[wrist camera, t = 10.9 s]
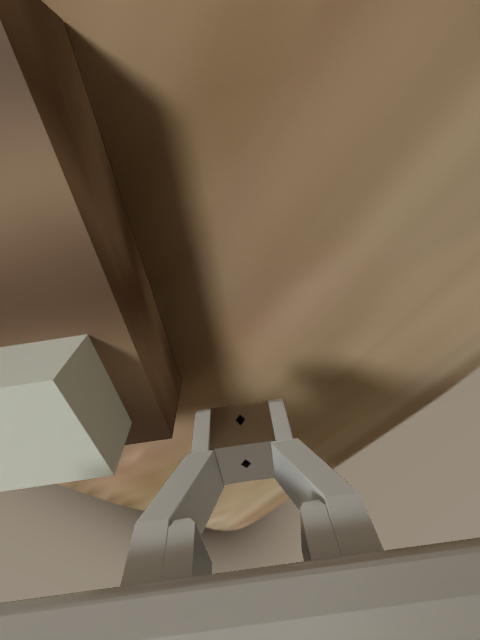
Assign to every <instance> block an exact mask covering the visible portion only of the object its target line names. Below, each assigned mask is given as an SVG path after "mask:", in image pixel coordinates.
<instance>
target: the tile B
mask: <svg viewBox="0 0 480 640" xmlns="http://www.w3.org/2000/svg"><path fill="white" fill-rule="evenodd" d="M131 424H132V421H131V419H130V417H129V415H128V413H127V411H126V409H125V407H124V406H123V404H122V402H121V400H120V398H119V396H118V394H117V392H116V390H115V388H114V386H113V384H112V382H111V380H110V378H109V376H108V374H107V372H106V370H105V368H104V366H103V364H102V362H101V360H100V358H99V356H98V354H97V352H96V350H95V348H94V346H93V344H92V342H91V340H90V338H89V336H88V334H86V335H79V336H72V337H66V338H59V339H52V340H46V341H39V342H33V343H26V344H19V345H13V346H6V347H0V492H1V491H8V490H14V489H21V488H29V487H36V486H43V485H50V484H57V483H64V482H71V481H78V480H85V479H92V478H99V477H106V476H113V475H115V472H116V469H117V466H118V463H119V460H120V457H121V454H122V451H123V448H124V445H125V442H126V439H127V436H128V433H129V430H130V427H131Z"/></svg>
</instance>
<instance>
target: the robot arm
mask: <svg viewBox="0 0 480 640" xmlns="http://www.w3.org/2000/svg"><path fill="white" fill-rule="evenodd" d="M269 478H275V479H276V481H277V482H278V483H279V485H280V486H281V487H282V488H283V490H284V491H285V492H286V494H287V495H288V496H289V497H290V499H291V500H292V501H293V502H294V504H295V505H296V506H297V508H298V509H299V510H300V519H301V545H302V554H303V559H304V562H296V563H290V564H282V565H275V566H267V567H260V568H252V569H245V570H238V571H230V572H223V573H216V574H212V562H211V560H210V557H209V555H208V552H207V550H206V547H205V545H204V543H203V540H202V538H201V534H202V532H203V530H204V528H205V526H206V524H207V522H208V520H209V517H210V515H211V513H212V511H213V509H214V507H215V505H216V503H217V501H218V499H219V496H220V494H221V492H222V490H223V488H224V485H227V484H232V483H238V482H244V481H249V480H250V481H251V480H260V479H269ZM0 640H480V538H474V539H466V540H458V541H451V542H444V543H436V544H429V545H421V546H415V547H407V548H399V549H392V550H386V551H384V550H383V548H382V545H381V542H380V540H379V538H378V535H377V533H376V531H375V528H374V526H373V524H372V521H371V519H370V517H369V514H368V512H367V509H366V507H365V505H364V502H363V500H362V498H361V495H360V493H359V492H358V491H357V490H355V489H354V488H353V487H352V486H351V485H350V484H349V483H348V482H347V481H345V480H344V479H343V478H342V477H341V476H340V475H339V474H337V472H335V471H334V470H333V469H332V468H331V467H330V466H329V465H328V464H326V463H325V462H324V461H323V460H322V459H321V458H320V457H319V456H318V455H316V454H315V453H314V452H313V451H312V450H311V449H310V448H309V447H307V446H306V445H305V444H304V443H303V442H302V441H301V440H300V439H299V438H293V435H292V431H291V427H290V424H289V420H288V416H287V412H286V409H285V405H284V401H283V399H282V398H279V399H273V400H268V401H267V400H266V401H259V402H253V403H246V404H240V405H234V406H226V407H217V408H211V409H202V410H197V411H196V414H195V423H194V433H193V443H192V452H191V453H188V454H186V456H185V457H184V458H183V460H182V461H181V463H180V464H179V465H178V467H177V468H176V469H175V471H174V472H173V473H172V475H171V476H170V477H169V479H168V480H167V481H166V483H165V484H164V485H163V487H162V488H161V490H160V491H159V492H158V494H157V495H156V496H155V498H154V499H153V500H152V502H151V503H150V504H149V506H148V507H147V508H146V510H145V511H144V513H143V514H142V515H141V517H140V518H139V519H138V521H137V522H136V523H135V527H134V531H133V536H132V539H131V544H130V548H129V552H128V556H127V560H126V564H125V569H124V573H123V577H122V581H121V585H120V587H113V588H106V589H98V590H91V591H84V592H77V593H69V594H62V595H55V596H47V597H40V598H33V599H25V600H18V601H11V602H3V603H0Z"/></svg>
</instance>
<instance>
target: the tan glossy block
mask: <svg viewBox="0 0 480 640" xmlns="http://www.w3.org/2000/svg"><path fill="white" fill-rule="evenodd" d="M86 334H88V336H89V338H90V340H91V342H92V344H93V346H94V348H95V350H96V352H97V354H98V356H99V358H100V360H101V362H102V364H103V366H104V368H105V370H106V372H107V374H108V376H109V378H110V380H111V382H112V384H113V386H114V388H115V390H116V392H117V394H118V396H119V398H120V400H121V402H122V404H123V406H124V407H125V409H126V411H127V413H128V415H129V417H130V419H131V421H132V424H131V427H130V430H129V433H128V436H127V439H126V442H125V445H129V444H136V443H142V442H149V441H156V440H163V439H170V438H172V435H173V429H174V423H175V418H176V412H177V406H178V400H179V394H180V389H181V383H182V381H181V378H180V375H179V372H178V369H177V366H176V363H175V360H174V357H173V354H172V351H171V348H170V345H169V342H168V339H167V336H166V333H165V330H164V327H163V324H162V321H161V318H160V314H159V311H158V308H157V305H156V302H155V299H154V296H153V293H152V290H151V287H150V284H149V281H148V278H147V275H146V272H145V269H144V266H143V263H142V260H141V257H140V254H139V251H138V247H137V244H136V241H135V238H134V235H133V232H132V229H131V226H130V223H129V220H128V217H127V214H126V211H125V208H124V205H123V202H122V199H121V196H120V193H119V190H118V187H117V183H116V180H115V177H114V174H113V171H112V168H111V165H110V162H109V159H108V156H107V153H106V150H105V147H104V144H103V141H102V138H101V135H100V132H99V129H98V126H97V123H96V120H95V116H94V113H93V110H92V107H91V104H90V101H89V98H88V95H87V92H86V89H85V86H84V83H83V80H82V77H81V74H80V71H79V68H78V65H77V62H76V59H75V56H74V53H73V49H72V46H71V43H70V40H69V37H68V34H67V31H66V28H65V25H64V22H63V20H62V19H61V18H60V17H59V16H58V15H57V14H56V13H55V12H53V11H52V10H51V9H50V8H49V7H48V6H47V5H46V4H44V3H43V2H42V1H41V0H0V347H6V346H13V345H19V344H26V343H33V342H39V341H46V340H52V339H59V338H66V337H72V336H79V335H86Z"/></svg>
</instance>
